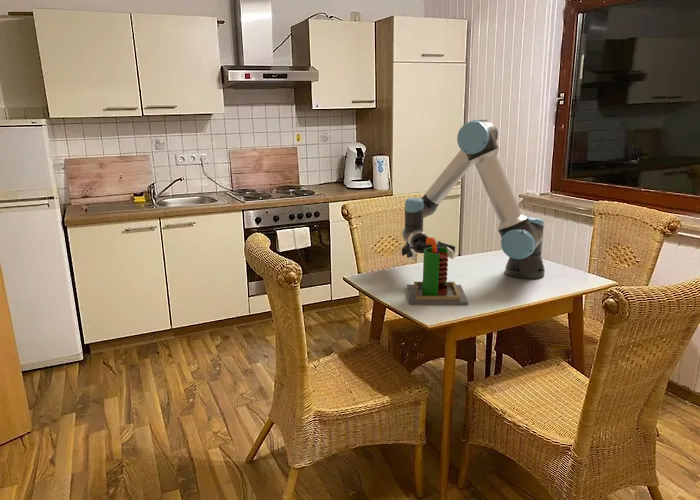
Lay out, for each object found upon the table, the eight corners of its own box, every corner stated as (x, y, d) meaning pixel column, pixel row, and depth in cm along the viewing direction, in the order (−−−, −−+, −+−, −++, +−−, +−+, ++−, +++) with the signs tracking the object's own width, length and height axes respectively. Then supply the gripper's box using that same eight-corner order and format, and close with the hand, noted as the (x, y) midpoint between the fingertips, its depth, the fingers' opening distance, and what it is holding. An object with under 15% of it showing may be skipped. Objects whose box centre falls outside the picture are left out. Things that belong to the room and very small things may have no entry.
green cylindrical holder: (447, 298, 184) (448, 242, 179) (421, 296, 186) (422, 241, 181) (448, 288, 193) (449, 235, 188) (423, 287, 195) (424, 234, 190)
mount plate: (460, 287, 198) (460, 280, 197) (467, 305, 180) (468, 297, 180) (407, 287, 199) (407, 280, 198) (409, 304, 182) (409, 297, 181)
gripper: (449, 249, 211) (467, 264, 191) (388, 252, 208) (399, 268, 188) (450, 231, 209) (468, 244, 189) (388, 234, 207) (400, 247, 186)
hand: (434, 256), depth 189 cm, fingers open, 13 cm apart
